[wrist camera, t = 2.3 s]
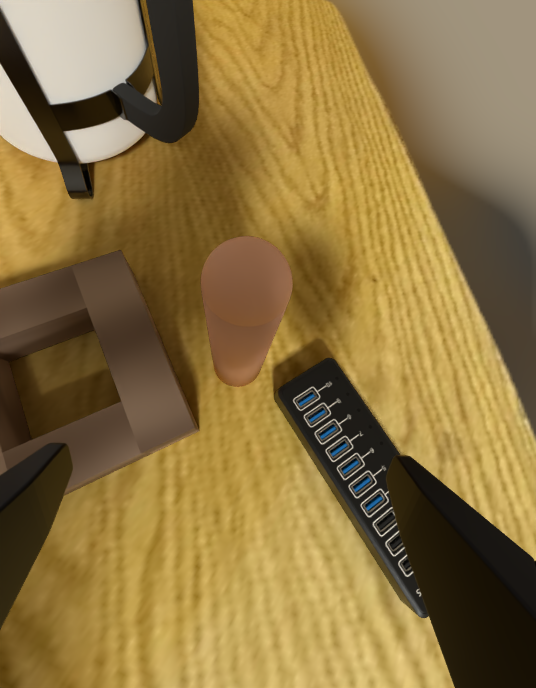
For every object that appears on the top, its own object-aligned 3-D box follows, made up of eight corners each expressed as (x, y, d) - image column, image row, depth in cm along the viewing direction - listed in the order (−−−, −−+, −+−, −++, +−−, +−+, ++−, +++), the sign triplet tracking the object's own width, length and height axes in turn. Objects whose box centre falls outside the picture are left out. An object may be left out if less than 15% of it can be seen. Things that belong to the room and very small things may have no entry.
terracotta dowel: (269, 374, 22) (319, 284, 10) (225, 394, 22) (223, 323, 9) (249, 333, 23) (273, 203, 11) (206, 351, 22) (180, 234, 10)
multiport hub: (322, 363, 24) (332, 354, 21) (453, 555, 21) (479, 568, 19) (270, 395, 22) (275, 390, 20) (401, 603, 20) (423, 623, 17)
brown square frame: (199, 430, 21) (195, 428, 18) (-8, 529, 18) (-52, 544, 15) (133, 273, 23) (120, 249, 21) (-56, 338, 21) (-101, 321, 18)
